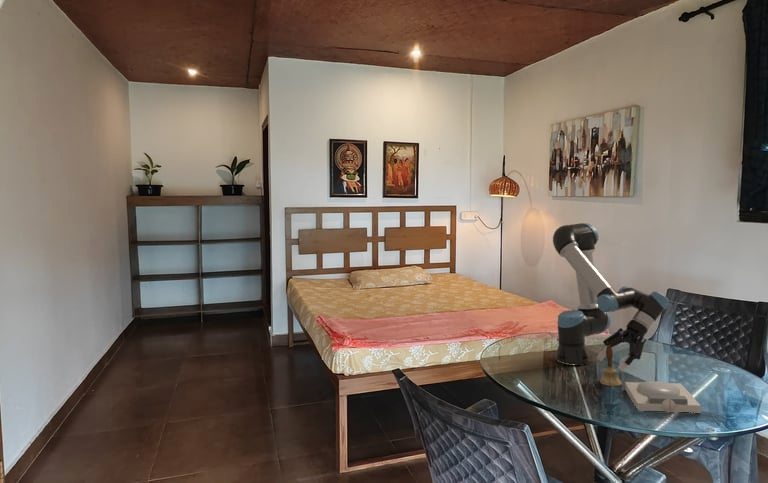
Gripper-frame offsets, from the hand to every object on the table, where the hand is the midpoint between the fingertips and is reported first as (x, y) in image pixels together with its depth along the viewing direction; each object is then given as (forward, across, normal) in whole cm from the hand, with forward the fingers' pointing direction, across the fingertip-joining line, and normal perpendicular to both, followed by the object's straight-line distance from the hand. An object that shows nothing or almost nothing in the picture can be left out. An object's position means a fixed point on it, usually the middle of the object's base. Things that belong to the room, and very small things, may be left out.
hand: (609, 364), depth 199 cm
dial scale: (+1, -21, -10) cm, 23 cm away
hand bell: (+5, +1, -6) cm, 8 cm away
